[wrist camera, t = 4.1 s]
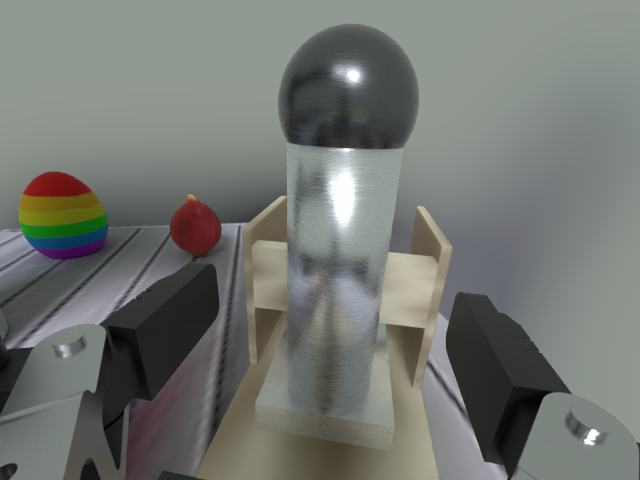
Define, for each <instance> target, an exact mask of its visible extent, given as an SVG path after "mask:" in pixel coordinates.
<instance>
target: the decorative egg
mask: <svg viewBox="0 0 640 480" xmlns="http://www.w3.org/2000/svg"><path fill="white" fill-rule="evenodd" d="M19 220H20V226H21V229H22V231H23V234H24V236H25V237H26V239H27V240H28V242H29V243H30V244H31V245H32V246H33V247H34V248H35V249H36V250H37V251H39V252H40V253H42V254H43V255H45V256H47V257H50V258H54V259H68V258H75V257H80V256H84V255H87V254H90V253H92V252H95V251H96V250H98V249H99V248H100V247H101V246H102V244H103V243H104V241H105V239H106V236H107V232H108V221H107V216H106V213H105V210H104V208H103V206H102V204H101V202H100V201H99V199H98V198H97V196H96V195H95V194H94V193H93V191H92V190H91V189H89V188H88V187H87V186H86V185H85V184H84V183H82V182H81V181H80V180H78V179H76V178H75V177H73V176H71V175H68V174H66V173H62V172H47V173H43V174H41V175H39V176H38V177H36V178H35V179H34V180H33V181H32V182H31V183H30V184H29V185H28V186H27V188H26V189H25V191H24V193H23V195H22V198H21V202H20V206H19Z"/></svg>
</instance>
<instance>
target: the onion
mask: <svg viewBox="0 0 640 480" xmlns="http://www.w3.org/2000/svg"><path fill="white" fill-rule="evenodd" d="M221 230H222V228H221V223H220V221H219V219H218V217H217V215H216V214H215V213H214V212H213V211H212V210H211V209H210V208H209V207H208V206H207V205H205V204H203V203H201V202H200V201H199V200H197V199H196V198H195V197H194V196H193V195H191V194H188V196H187V203H186V204H184V205H183V206H181V208H179V209H178V210H177V211H176V212H175V214H174V215H173V218H172V220H171V225H170V234H171V237H172V239H173V241H174V242H175V243H176V244H177V245H178V246H179V247H180V248H181V249H183V250H185V251H187V252H189V253H190V254H192V255H194V256H196V257H200V256H202V255H204V254H205V253H207V252H208V251H209V250H211V249H212V248H213V247H214V246H215V245H216V244H217V242H218V241H219V239H220V237H221Z"/></svg>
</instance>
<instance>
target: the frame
mask: <svg viewBox="0 0 640 480" xmlns="http://www.w3.org/2000/svg"><path fill="white" fill-rule="evenodd" d="M242 239H243V256H244V272H245V289H246V305H247V321H248V338H249V354H250V365H249V367H248V369H247V371H246V373H245V375H244V377H243V379H242V381H241V383H240V385H239V387H238V389H237V391H236V393H235V395H234V397H233V399H232V401H231V403H230V405H229V407H228V410H227V412H226V414H225V416H224V418H223V420H222V422H221V424H220V426H219V428H218V430H217V432H216V434H215V436H214V438H213V440H212V442H211V444H210V446H209V448H208V450H207V452H206V454H205V456H204V458H203V461H202V463H201V465H200V467H199V469H198V471H197V473H196V475H195V478H200V479H205V480H439V476H438V471H437V466H436V461H435V456H434V451H433V447H432V442H431V437H430V432H429V427H428V422H427V417H426V412H425V407H424V402H423V397H422V393H421V386H422V381H423V377H424V372H425V368H426V363H427V359H428V355H429V350H430V346H431V341H432V337H433V332H434V328H435V323H436V319H437V315H438V310H439V306H440V301H441V297H442V292H443V288H444V283H445V279H446V274H447V270H448V266H449V261H450V257H451V253H452V246H451V245H450V243H449V242H448V241H447V239H446V238H445V236H444V235H443V233H442V232H441V230H440V229H439V228H438V226H437V225H436V223H435V222H434V220H433V219H432V218H431V216H430V215H429V213H428V212H427V210H426V209H425V207H421V206H417V210H416V216H415V222H414V228H413V234H412V240H411V246H410V252H409V254H400V253H391V252H389V253H388V261H387V268H386V275H385V282H384V289H383V297H382V304H381V311H380V318H379V323H385V325H386V336H387V346H388V357H389V368H390V379H391V389H392V400H393V411H394V422H395V430H394V435H393V440H392V445H391V450H390V451H386V450H380V449H375V448H369V447H363V446H358V445H352V444H346V443H341V442H335V441H329V440H323V439H318V438H312V437H306V436H301V435H295V434H289V433H284V432H278V431H272V430H267V429H261V428H256V412H255V403H256V400H257V398H258V395H259V393H260V390H261V388H262V385H263V383H264V380H265V378H266V375H267V373H268V370H269V368H270V365H271V363H272V360H273V358H274V355H275V353H276V350H277V348H278V345H279V343H280V340H281V338H282V335H283V333H284V330H285V328H286V325H287V196H281V197H279V198H278V199H277V200H276V201H275V202H273V203H272V204H271V205H270V206H268V207H267V208H266V209H265V210H264V211H262V212H261V213H260V214H259V215H258V216H256V217H255V218H254V219H253V220H252V221H250V222H249V223H248V224H247V225H246V226H244V227H243V228H242Z"/></svg>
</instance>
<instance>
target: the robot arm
mask: <svg viewBox="0 0 640 480" xmlns="http://www.w3.org/2000/svg"><path fill="white" fill-rule="evenodd" d="M218 311H219V295H218V285H217V276H216V269H215V266H214V265H213V264H207V263H198V262H189V263H187V264H186V265H185V266H184V267H182V268H181V269H180V270H178V271H177V272H176V273H175V274H172V275H170V276H168V277H165V278H163V279H161V280H158V281H157V282H155V283H154V284H153V285H151V286H150V287H149V288H147V289H146V291H143V292H142V293H141V294H139V295H138V296H137V297H136V299H133V300H131V301H130V302H129V303H127V304H126V305H125V306H123V307H122V308H120V309H119V310H118V311H116V312H115V313H114V314H112V315H111V316H110V317H108V318H107V319H106V320H104V321H103V322H102V323H100V324H99V325H95V324H84V325H77V326H73V327H69V328H66V329H63V330H61V331H58V332H56V333H54V334H52V335H50V336H48V337H47V338H45V339H44V340H42V341H41V342H39V343H38V344H37V345H36V346H35V347H30V348H20V349H9V350H7V348H6V346H5V344H4V342H3V339H4V338H5V336H6V334H7V332H8V325H7V322H6V320H5V318H4V315H3V313H2V311H1V308H0V480H125V473H126V455H127V438H128V420H129V411H128V408H127V405H128V404H129V403H130V402H131V401H132V399H133V398H138V399H144V400H150V401H152V400H153V399H154V398H155V396H156V395H157V394H158V392H159V391H160V390H161V389H162V387H163V386H164V385H165V383H166V382H167V381H168V380H169V378H170V377H171V376H172V375H173V373H174V372H175V371H176V369H177V368H178V367H179V366H180V364H181V363H182V362H183V360H184V359H185V358H186V357H187V355H188V354H189V353H190V351H191V350H192V349H193V348H194V346H195V345H196V344H197V343H198V341H199V340H200V339H201V337H202V336H203V335H204V334H205V332H206V331H207V330H208V328H209V327H210V326H211V325H212V323H213V322H214V321H215V319H216V317H217V314H218ZM446 350H447V354H448V357H449V360H450V363H451V366H452V369H453V372H454V375H455V377H456V380H457V383H458V386H459V389H460V392H461V395H462V398H463V401H464V404H465V407H466V409H467V412H468V415H469V418H470V421H471V424H472V427H473V430H474V433H475V436H476V438H477V441H478V444H479V447H480V450H481V453H482V456H483V459H484V462H490V463H496V464H501V465H504V466H505V469H506V471H507V474H508V479H507V480H640V443H637V442H636V441H635V439H634V437H633V436H632V435H631V433H630V432H629V431H628V429H627V428H626V427H625V426H624V425H623V424H622V423H621V422H620V421H618V420H617V419H616V418H615V417H614V416H612V415H611V414H610V413H608V412H607V411H605V410H604V409H602V408H601V407H599V406H597V405H596V404H594V403H592V402H590V401H588V400H586V399H583V398H581V397H578V396H575V395H572V393H571V392H570V391H569V389H568V388H567V387H566V386H565V384H564V383H563V381H562V380H561V379H560V377H559V376H558V375H557V373H556V372H555V371H554V369H553V368H552V367H551V365H550V364H549V363H548V361H547V360H546V359H545V358H544V356H543V355H542V353H539V350H538V348H537V347H536V346H535V344H534V343H533V342H532V341H530V338H529V336H528V335H527V334H526V332H525V331H524V330H523V328H522V327H521V326H520V325H519V324H518V323H516V322H515V321H514V320H512V319H511V318H510V317H508V316H507V315H506V314H504V313H498V311H497V310H496V308H495V307H494V305H493V304H492V302H491V301H490V300H489V298H488V297H487V296H486V295H480V294H472V293H462V292H459V293H458V294H457V295H456V298H455V301H454V305H453V309H452V313H451V317H450V321H449V325H448V329H447V333H446ZM158 480H205V479H200V478H195V477H190V476H186V475H181V474H176V473H171V472H167V471H163V472H162V473H161V475H160V477H159V478H158Z"/></svg>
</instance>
